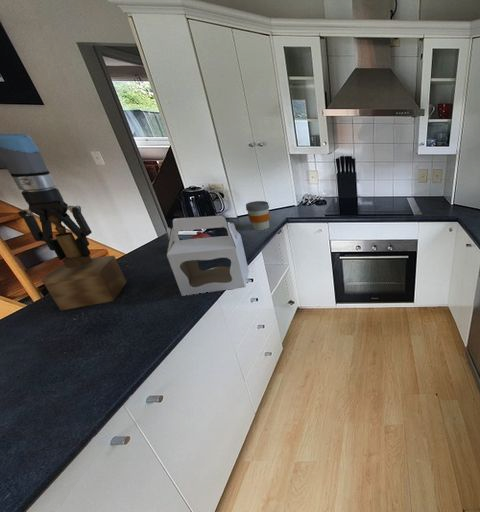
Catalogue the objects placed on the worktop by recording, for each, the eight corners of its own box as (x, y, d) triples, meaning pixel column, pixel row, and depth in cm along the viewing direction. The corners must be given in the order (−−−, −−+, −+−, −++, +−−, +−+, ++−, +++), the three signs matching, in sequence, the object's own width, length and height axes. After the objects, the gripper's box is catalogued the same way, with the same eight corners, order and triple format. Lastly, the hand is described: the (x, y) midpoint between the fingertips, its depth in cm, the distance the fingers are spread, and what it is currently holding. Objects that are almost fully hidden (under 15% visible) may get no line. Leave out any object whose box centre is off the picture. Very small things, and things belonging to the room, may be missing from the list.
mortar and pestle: (76, 259, 97) (50, 211, 89) (97, 258, 98) (73, 210, 90) (60, 268, 91) (30, 217, 83) (82, 267, 93) (55, 216, 85)
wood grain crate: (60, 310, 92) (41, 280, 87) (80, 289, 104) (64, 262, 98) (113, 301, 98) (99, 272, 93) (126, 282, 109) (114, 255, 104)
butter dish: (188, 246, 141) (183, 230, 137) (213, 240, 148) (208, 226, 144) (192, 253, 133) (187, 237, 129) (218, 247, 140) (214, 232, 136)
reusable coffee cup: (255, 232, 159) (250, 208, 153) (246, 227, 167) (241, 203, 160) (276, 227, 168) (272, 203, 161) (266, 222, 175) (262, 199, 168)
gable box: (249, 271, 119) (235, 209, 106) (246, 287, 108) (230, 220, 95) (191, 278, 112) (168, 213, 100) (180, 296, 101) (154, 225, 89)
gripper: (-15, 194, 77) (30, 266, 87) (74, 189, 84) (106, 256, 94) (3, 188, 83) (44, 256, 93) (85, 184, 90) (114, 248, 100)
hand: (75, 256), depth 94 cm, fingers closed on mortar and pestle, 5 cm apart
